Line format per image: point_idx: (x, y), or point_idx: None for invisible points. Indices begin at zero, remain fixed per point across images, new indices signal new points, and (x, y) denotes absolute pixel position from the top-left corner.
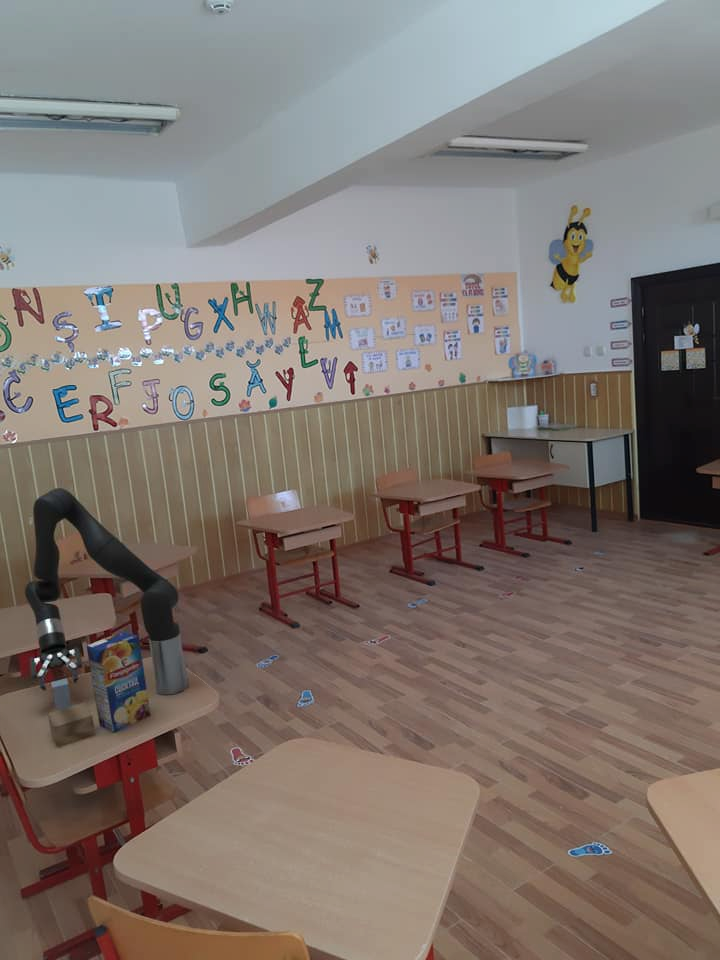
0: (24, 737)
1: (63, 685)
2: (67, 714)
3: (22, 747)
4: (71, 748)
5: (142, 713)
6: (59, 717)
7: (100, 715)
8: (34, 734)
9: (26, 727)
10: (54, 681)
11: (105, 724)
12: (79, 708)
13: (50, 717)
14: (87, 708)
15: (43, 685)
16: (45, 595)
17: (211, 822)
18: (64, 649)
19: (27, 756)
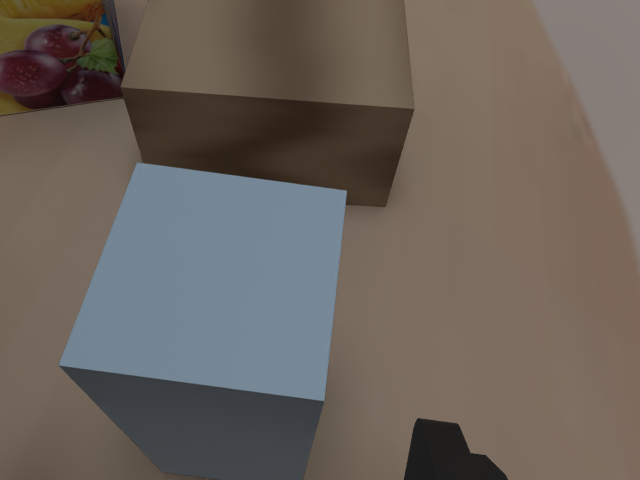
0: (545, 260)
1: (202, 176)
2: (291, 16)
3: (545, 156)
4: None
5: None
6: (347, 13)
7: (107, 12)
8: (484, 255)
9: (545, 408)
10: (268, 392)
11: (114, 25)
12: (195, 33)
13: (402, 47)
14: (153, 2)
15: (446, 437)
16: None
17: None
18: None
19: (513, 67)
